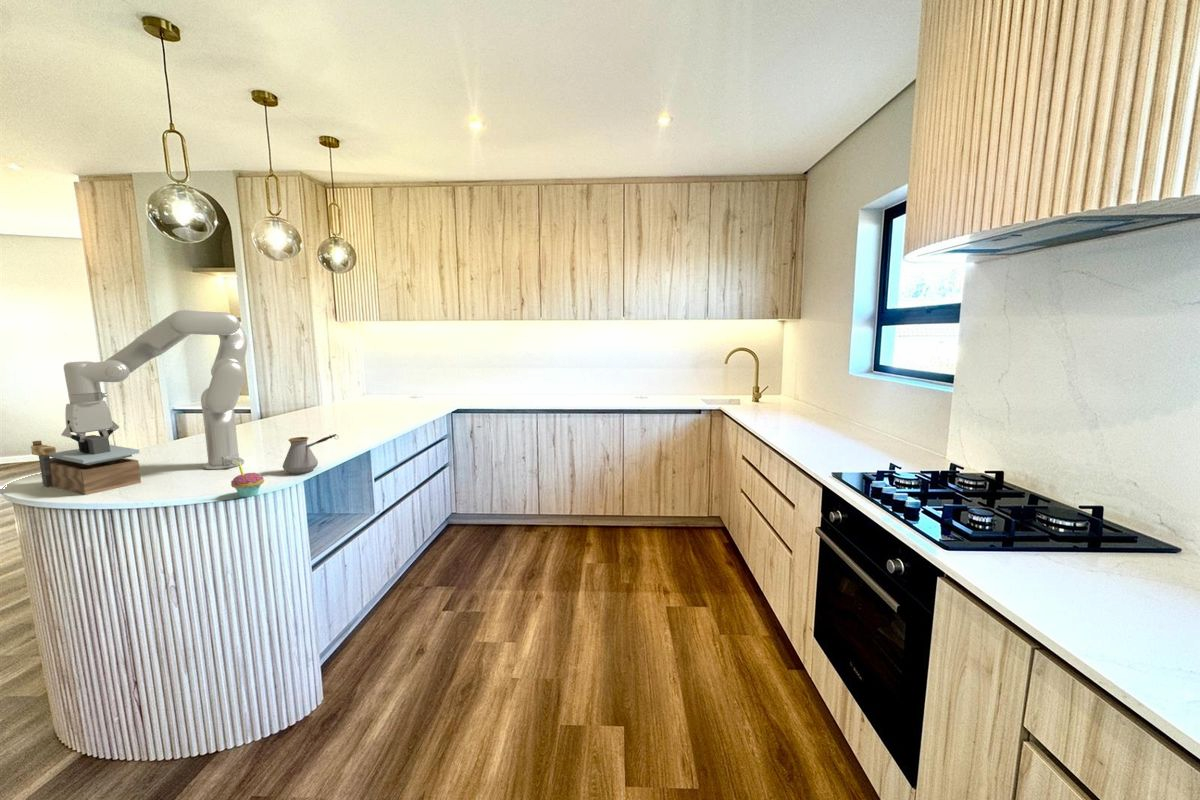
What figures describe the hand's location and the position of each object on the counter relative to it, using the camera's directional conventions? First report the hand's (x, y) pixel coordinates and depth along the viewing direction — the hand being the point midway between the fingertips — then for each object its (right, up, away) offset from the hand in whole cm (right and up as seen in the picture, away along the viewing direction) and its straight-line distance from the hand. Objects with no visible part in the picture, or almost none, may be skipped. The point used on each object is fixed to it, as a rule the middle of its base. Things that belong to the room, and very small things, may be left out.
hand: (94, 450), depth 160 cm
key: (-21, -2, +3) cm, 21 cm away
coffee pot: (+64, -10, +18) cm, 67 cm away
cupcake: (+58, -14, -8) cm, 61 cm away
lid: (0, -3, 0) cm, 2 cm away
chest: (-2, -12, +1) cm, 12 cm away
